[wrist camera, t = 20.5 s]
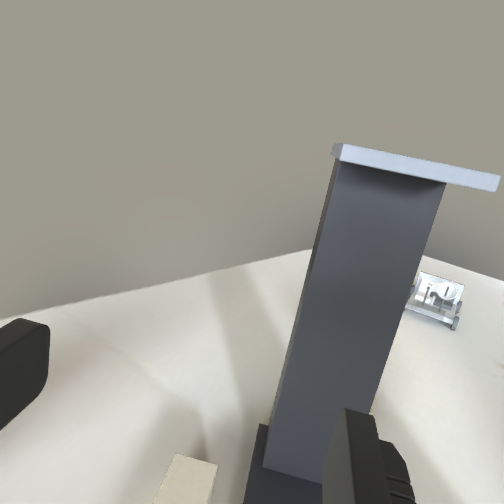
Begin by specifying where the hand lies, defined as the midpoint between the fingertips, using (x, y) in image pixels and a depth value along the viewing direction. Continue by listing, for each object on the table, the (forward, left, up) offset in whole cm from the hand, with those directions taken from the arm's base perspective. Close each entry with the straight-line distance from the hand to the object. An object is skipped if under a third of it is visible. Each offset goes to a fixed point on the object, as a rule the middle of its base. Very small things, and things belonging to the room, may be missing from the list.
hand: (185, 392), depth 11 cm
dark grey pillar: (+8, +22, -25) cm, 34 cm away
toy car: (+36, +81, -25) cm, 92 cm away
